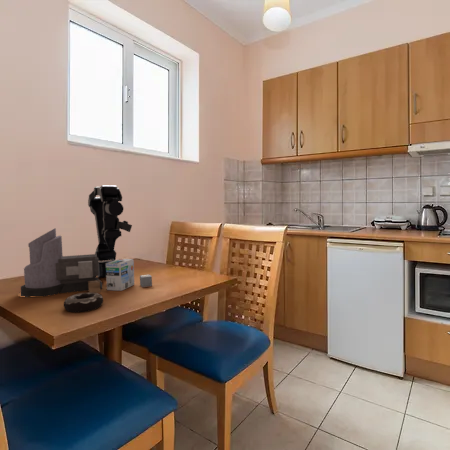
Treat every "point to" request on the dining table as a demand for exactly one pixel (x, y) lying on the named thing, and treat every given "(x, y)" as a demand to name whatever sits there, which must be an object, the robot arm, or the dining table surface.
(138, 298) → the dining table surface
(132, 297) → the dining table surface
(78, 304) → the donut
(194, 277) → the dining table surface
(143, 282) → the grey marked block
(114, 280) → the light bulb box
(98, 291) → the walnut marked block
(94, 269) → the grey boxy piece
